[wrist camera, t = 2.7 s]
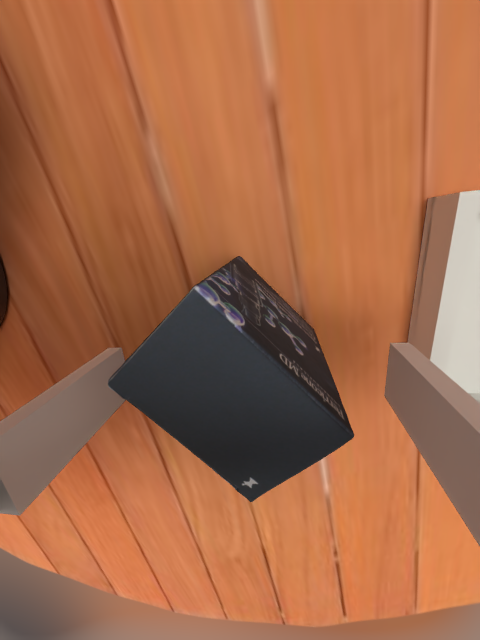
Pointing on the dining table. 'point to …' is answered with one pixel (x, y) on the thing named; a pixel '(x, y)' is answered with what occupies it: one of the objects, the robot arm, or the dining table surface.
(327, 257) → the dining table surface
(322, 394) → the box
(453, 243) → the tray
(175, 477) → the dining table surface
